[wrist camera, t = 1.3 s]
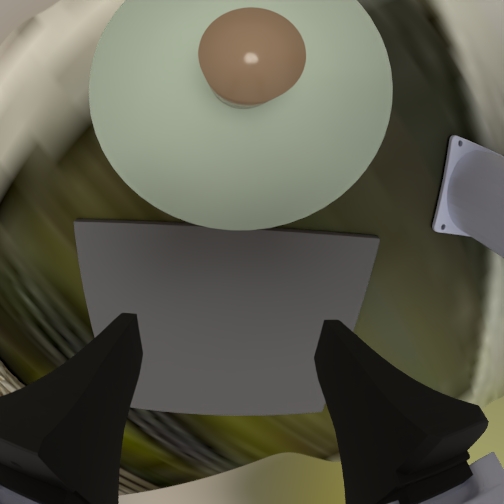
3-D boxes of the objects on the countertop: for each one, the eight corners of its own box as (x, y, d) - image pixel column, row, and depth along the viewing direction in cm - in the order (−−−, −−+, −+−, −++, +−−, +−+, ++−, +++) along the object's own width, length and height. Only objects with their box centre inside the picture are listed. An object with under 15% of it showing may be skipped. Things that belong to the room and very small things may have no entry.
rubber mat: (376, 235, 21) (380, 238, 21) (320, 407, 30) (321, 411, 29) (77, 219, 19) (73, 221, 19) (117, 400, 27) (115, 405, 27)
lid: (391, -11, 10) (447, -43, 5) (364, 235, 16) (415, 285, 11) (117, -38, 9) (78, -85, 4) (93, 220, 15) (42, 267, 10)
